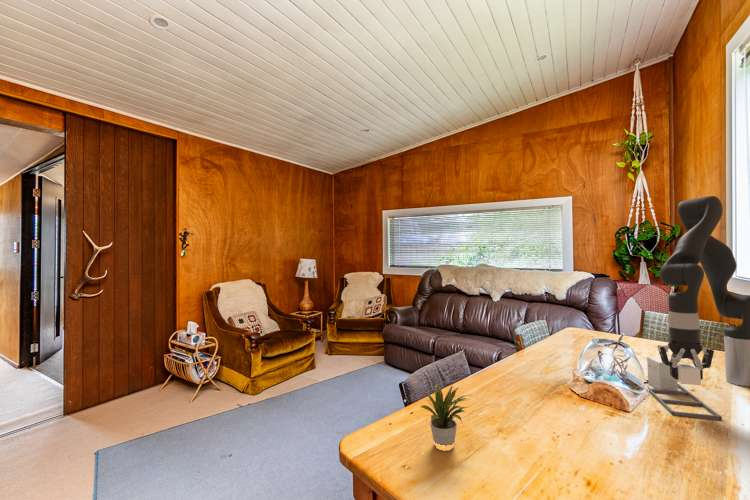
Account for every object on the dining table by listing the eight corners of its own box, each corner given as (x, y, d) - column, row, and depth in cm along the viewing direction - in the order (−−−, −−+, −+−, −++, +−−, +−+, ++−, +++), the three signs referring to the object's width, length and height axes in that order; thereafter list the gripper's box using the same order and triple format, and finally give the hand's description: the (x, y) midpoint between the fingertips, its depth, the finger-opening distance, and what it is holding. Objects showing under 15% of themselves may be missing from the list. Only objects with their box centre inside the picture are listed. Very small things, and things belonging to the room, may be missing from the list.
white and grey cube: (672, 378, 114) (672, 362, 115) (691, 379, 113) (690, 363, 113) (681, 384, 110) (680, 367, 110) (700, 385, 108) (700, 368, 108)
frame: (637, 381, 137) (637, 379, 137) (676, 384, 132) (675, 382, 132) (672, 414, 108) (671, 411, 108) (721, 420, 104) (721, 416, 104)
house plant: (461, 470, 83) (458, 401, 84) (409, 455, 91) (407, 391, 91) (478, 443, 95) (475, 382, 96) (430, 431, 103) (428, 375, 103)
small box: (678, 392, 125) (676, 363, 125) (660, 392, 126) (659, 362, 126) (664, 384, 133) (663, 356, 133) (647, 384, 134) (646, 356, 134)
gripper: (706, 324, 113) (708, 378, 112) (651, 323, 118) (654, 373, 117) (719, 329, 106) (722, 386, 105) (661, 327, 111) (663, 381, 110)
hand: (686, 379), depth 111 cm, fingers closed on white and grey cube, 5 cm apart
